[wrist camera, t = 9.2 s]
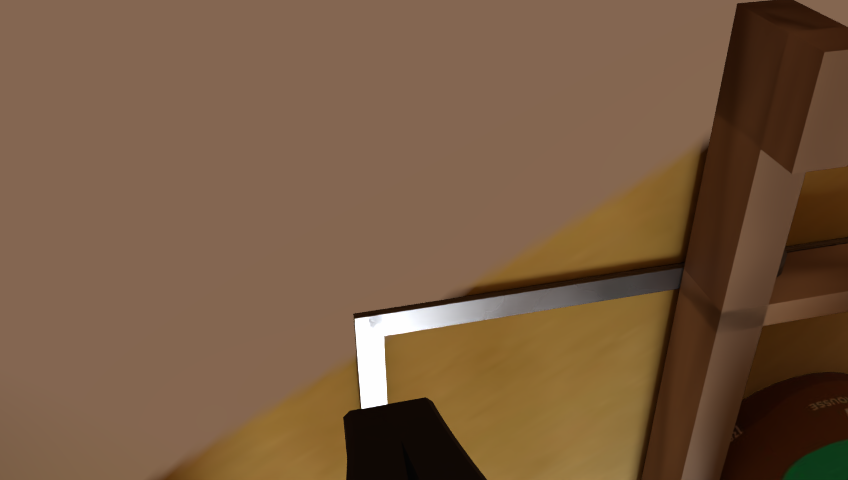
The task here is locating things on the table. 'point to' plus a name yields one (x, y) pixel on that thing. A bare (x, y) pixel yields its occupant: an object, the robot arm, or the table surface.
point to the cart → (752, 227)
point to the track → (501, 311)
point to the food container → (792, 431)
